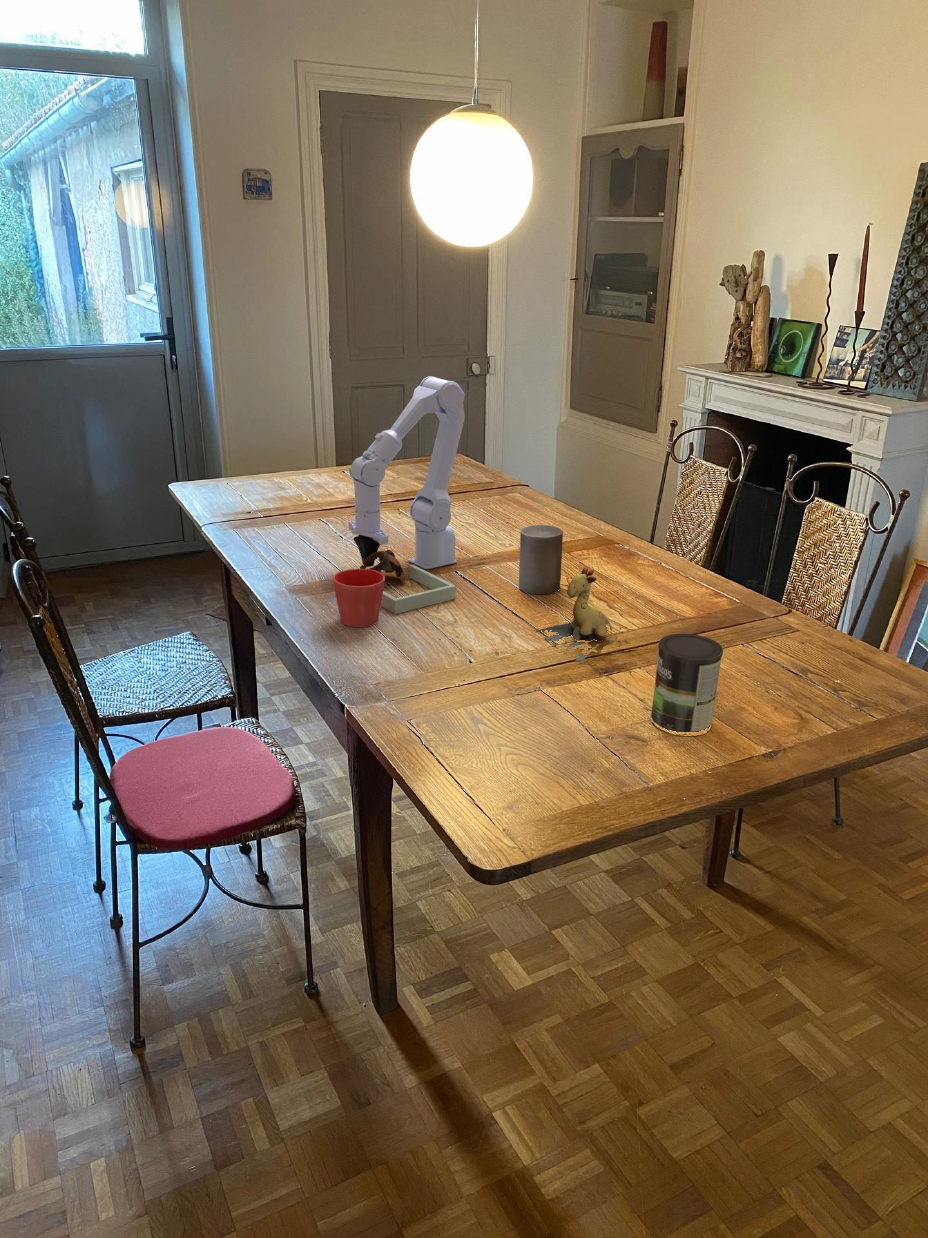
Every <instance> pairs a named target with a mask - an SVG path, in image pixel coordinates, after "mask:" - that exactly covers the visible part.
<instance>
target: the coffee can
mask: <svg viewBox="0 0 928 1238" xmlns="http://www.w3.org/2000/svg"><path fill="white" fill-rule="evenodd" d="M657 647H658V652H657V653H658V654H657V661H656V668H655V669H656V670H655V678H654V679H655V680H654V687H653V688H654V690H653V698H652V706H651V714H650V717H651V718H652V720H653V722H654V723H656V724H657V725H659V726H660V727H662V728H665V729H667V730H672V731H676V732H699V731H701V730H705V729H706V728H709V727H710V725H711V724H712V725H713V719H714V718H713V717H714V711H715V704H716V703H715V702H716V696H717V690H718V684H719V676H720V669H721V663H722V656H723V654H724V648H723V646H722V645H721V644H720V643H719V642H718V641H716V640H713V639H711V638H709V637H706V636H702V635H700V634H699V635H698V634H694V633H693V634H692V633H675V634H673V633H672V634H668V635H665V636H664V637H662V638H660V640H659V641H658V646H657Z"/></svg>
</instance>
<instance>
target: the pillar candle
mask: <svg viewBox="0 0 928 1238" xmlns="http://www.w3.org/2000/svg"><path fill="white" fill-rule="evenodd" d="M519 534H520V535H519V537H520V538H519V564H518V565H519V566H518V567H519V568H518V588H519V590H521V591H522V590H523V591H522V592H523V593H526V592H527V593H526V594H529V593H531V594H530V595H535V594H538V595H539V596H540V595H541V594H546V595H551V594H556V593H558V592H559V591H560V590H561V578H562V560H563V543H564V541H563V540H564V538H563V537H564V532H563V530H562V529H561V528H559V527H557V526H555V525H554V526H553V525H548V524H534V525H526V526H524V527H522V528H520V531H519ZM559 589H560V590H559ZM558 590H559V591H558ZM555 592H556V593H555ZM538 595H537V596H538ZM541 596H542V595H541Z"/></svg>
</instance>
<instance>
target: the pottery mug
mask: <svg viewBox="0 0 928 1238" xmlns="http://www.w3.org/2000/svg"><path fill="white" fill-rule="evenodd" d="M377 559H378V561H379V562H378V563H377V564H376V565H375V564H374V566H371V567H367V566H368V565H369V564H370V563H371V562H373V561H374V560H375V561H376V560H377ZM361 563H362V564H361V565H360V566H359V569H367V568H368V569H370V570H375V571H378V572H380V573H382V571H384V572H385V573H386V574H388V573H390V574H392V573H395V575H396V578H399V580H400V583H401V585H402V586H403V585H405V583H406V577H405V572H404V570H403V567H402V565H401V563H400V561H399V560H398V559H397V558H396V556H395V553H394V551H393V550H391V549H387V550H378V551H377V552H375V553H373V554H371V555H370V556H368V557H367V558H366V559H365V560H364V561H363V562H361Z"/></svg>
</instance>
